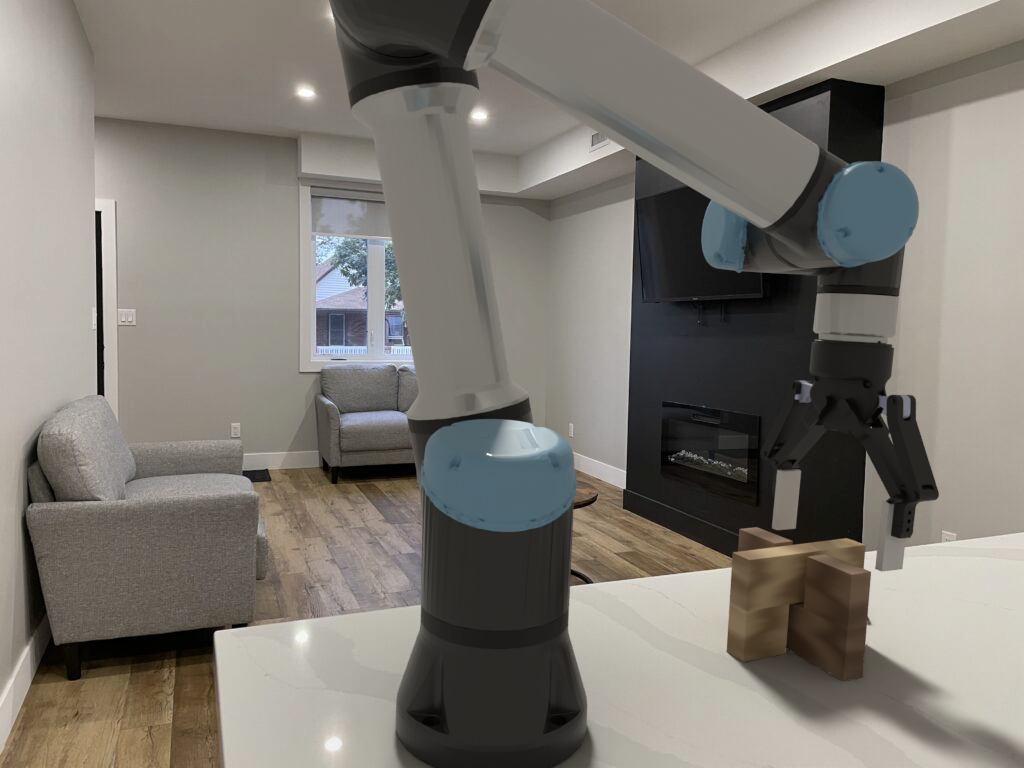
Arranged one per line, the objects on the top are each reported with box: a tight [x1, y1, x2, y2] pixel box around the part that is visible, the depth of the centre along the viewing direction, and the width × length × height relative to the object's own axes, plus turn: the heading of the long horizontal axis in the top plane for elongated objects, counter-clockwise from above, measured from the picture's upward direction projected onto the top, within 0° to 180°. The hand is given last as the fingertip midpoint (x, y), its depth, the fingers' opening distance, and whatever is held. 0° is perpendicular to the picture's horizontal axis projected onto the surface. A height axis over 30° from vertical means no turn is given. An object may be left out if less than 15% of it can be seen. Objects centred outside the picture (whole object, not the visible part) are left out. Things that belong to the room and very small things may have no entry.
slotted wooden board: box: [737, 526, 872, 682], centre depth 77 cm, size 15×2×10 cm, turn 24°
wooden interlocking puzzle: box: [726, 537, 866, 663], centre depth 77 cm, size 15×2×10 cm, turn 114°
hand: (832, 547), depth 79 cm, fingers open, 13 cm apart
